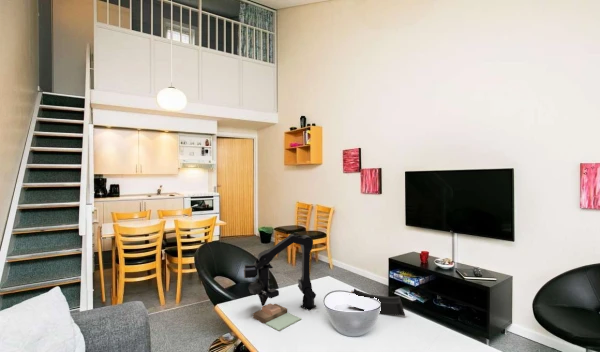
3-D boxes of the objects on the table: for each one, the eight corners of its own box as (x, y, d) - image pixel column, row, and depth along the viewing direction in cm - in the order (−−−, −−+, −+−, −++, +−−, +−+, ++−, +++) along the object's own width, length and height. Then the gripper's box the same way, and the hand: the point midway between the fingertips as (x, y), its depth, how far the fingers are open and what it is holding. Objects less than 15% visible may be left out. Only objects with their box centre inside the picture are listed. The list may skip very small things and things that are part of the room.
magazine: (409, 299, 161) (355, 276, 170) (409, 301, 158) (354, 278, 167) (399, 328, 163) (346, 304, 172) (399, 331, 160) (345, 306, 169)
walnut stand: (275, 308, 168) (275, 303, 168) (287, 313, 162) (287, 308, 162) (252, 318, 156) (253, 313, 156) (264, 324, 150) (264, 319, 150)
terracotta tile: (270, 307, 163) (270, 303, 163) (280, 311, 158) (280, 307, 158) (261, 310, 159) (261, 306, 159) (272, 315, 153) (272, 311, 153)
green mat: (287, 313, 161) (287, 312, 161) (301, 319, 155) (301, 318, 155) (265, 324, 149) (265, 323, 149) (279, 331, 143) (279, 330, 143)
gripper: (240, 276, 163) (240, 305, 163) (263, 284, 150) (263, 316, 150) (256, 271, 171) (256, 298, 171) (279, 279, 159) (279, 309, 159)
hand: (263, 305), depth 163 cm, fingers closed
